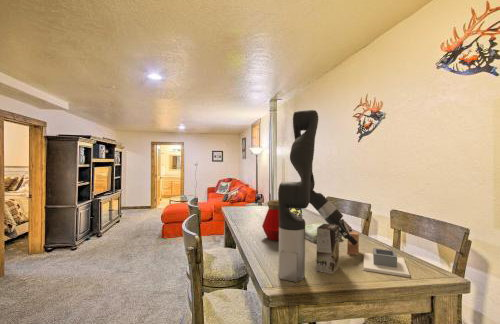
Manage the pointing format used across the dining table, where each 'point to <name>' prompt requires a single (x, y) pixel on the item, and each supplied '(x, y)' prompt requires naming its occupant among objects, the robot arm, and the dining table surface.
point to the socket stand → (385, 262)
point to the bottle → (272, 221)
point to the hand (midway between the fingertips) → (356, 241)
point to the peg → (350, 247)
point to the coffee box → (327, 248)
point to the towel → (313, 232)
